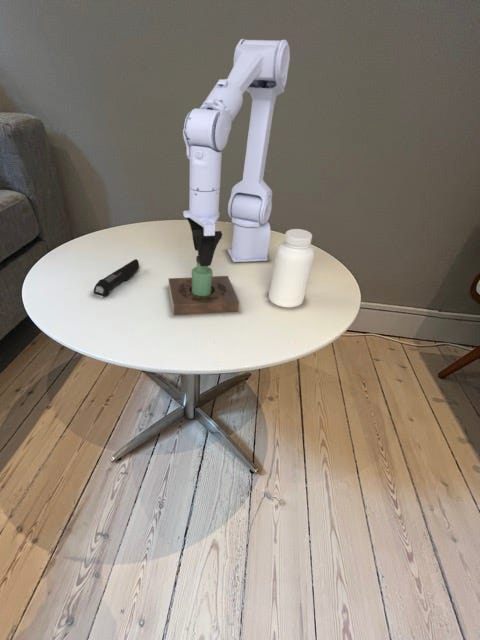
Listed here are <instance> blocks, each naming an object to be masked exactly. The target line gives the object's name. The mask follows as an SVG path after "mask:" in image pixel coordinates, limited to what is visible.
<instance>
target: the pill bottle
mask: <svg viewBox="0 0 480 640" xmlns="http://www.w3.org/2000/svg"><path fill="white" fill-rule="evenodd" d="M312 239H313V234H312V233H311V232H310V231H308V230H306V229H301V228H292V229H288V230H286V232H285V233H284V242H282V243H281V244H279V245H278V247H277V248H276V250H275V255H274V261H273V266H272V273H271V278H270V283H269V288H268V299H269V301H270V303H272V304H274V305H276V306H279V307H283V308H296V307H299V306H301V305H302V303H303V302H304V300H305V296H306V292H307V288H308V284H309V280H310V276H311V272H312V269H313V264H314V260H315V250H314V248H313V247H312V246H311V245H312Z"/></svg>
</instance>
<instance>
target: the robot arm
mask: <svg viewBox="0 0 480 640" xmlns="http://www.w3.org/2000/svg"><path fill="white" fill-rule="evenodd" d="M290 50H291V49H290V45H289V43H288V40H287V39H281V40H274V39H273V40H270V39H269V40H268V39H246V38H241V39H239V42H237V44H236V47H235V49H234V54H233V61H232V63H233V64H232V65H233V67H232V69H231V71H230V72H229V74H228V76H227V78H224V79H222V78H220V79H218V80H217V82H216V84H215V85H214V87H213V88H212V89H211V91H210V93H209V94H208V95H207V96H206V98H205V100H204V101H203V102H202V104H201V106H200V107H199V108H193V109H192V110H191V111H189V112H188V113H187V115H186V116H185V119H184V125H183V129H182V137H183V141H184V144H185V147H186V157H187V159H188V160H189V175H188V176H189V178H188V179H189V181H188V182H189V184H188V185H189V187H188V188H189V189H188V190H189V191H188V192H189V193H188V195H189V196H188V197H189V201H188V202H189V203H188V204H189V205H188V206H189V207H188V210H183V211H182V214H183V218H186V219H187V221H188V224H189V226H190V231H191V236H192V242H193V248H194V251H195V252H197V256H198V257H199V263H200V266H208V267H211V265H212V262H213V258H214V255H215V251H216V248H217V246H218V245H219V243H220V241H221V239H222V237H223V232H222V230H216V224H217V222H218V221H219V218H220V211H219V210H220V208H219V207H220V194H221V193H220V192H221V175H222V157H223V150H224V149H225V148H226V147H227V144H228V141H229V135H230V132H231V129H232V123H233V121H234V120H235V118H236V117H237V115H238V113H239V112H240V110H241V109H242V106H243V102H244V98H243V97H244V93H245V92H247V93H248V94H249V95H250V97H251V99H252V102H251V109H250V117H249V125H248V133H247V141H246V151H245V158H244V165H243V174H242V180H240V181H238V182H237V183H236V184H234V185H233V187H232V188H231V191H230V198H229V200H228V204H227V214H228V216H229V218H230V219H231V223H233V229H232V230H233V231H232V240H231V248H227V252H228V254H229V257H230V258H231V261H232V262H233V263H246V262H247V263H248V262H267V261H268V260H269V259H268V255H269V248H270V242H271V235H272V234H271V225H270V222H269V219H270V216H271V213H272V207H273V201H272V200H273V190H272V189H271V187H269V185H268V184H267V183H266V182H265V180H264V175H265V168H266V164H267V163H266V162H267V155H268V149H269V143H270V136H271V130H272V122H273V117H274V116H273V115H274V110H275V106H276V105H275V104H276V101H277V96H279V95H281V94H283V93H284V92H285V87H286V84H287V79H288V74H289V67H290V60H291V51H290Z"/></svg>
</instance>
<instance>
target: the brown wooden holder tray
mask: <svg viewBox="0 0 480 640" xmlns="http://www.w3.org/2000/svg"><path fill="white" fill-rule="evenodd" d="M168 292H169V297H170V303H171V308H172V309H171V310H172V314H173V316H186V315H200V314H218V313H219V314H220V313H235V312H237V313H238V312H239V303H240V301H239V299H238V296H237V294H236V291H235V289H234V287H233V284H232V282H231V280H230V278H229V276H228V275H215V276H214V275H212V289H211V295H207V296H198V295H195V294H192V276H191V277H174V278H173V277H169V278H168Z"/></svg>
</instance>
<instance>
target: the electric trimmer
mask: <svg viewBox="0 0 480 640" xmlns="http://www.w3.org/2000/svg"><path fill="white" fill-rule="evenodd" d="M138 270H140V263H139V260H138V259H136V258H135V259H133V260H131V261H129V262H128V263H126V264H125V265H123V266H122V267H120V268H118V269H117V270H115V271H113V272H111V273H109V274H108V275H107V276H105V277H104V278H102V279H100V280H98V282H96V284H95V285H94V288H93V294H94V295H95V296H97V297H100V298H104V297H107V296H109V294H110V291H111V290H113V289H114V288H115V287H117V286H118V285H119V284H121V283H122V282H126V281H127V282H128V281H129V279H130V278H132V277H133V275H134V274H135V273H136V272H138Z"/></svg>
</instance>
